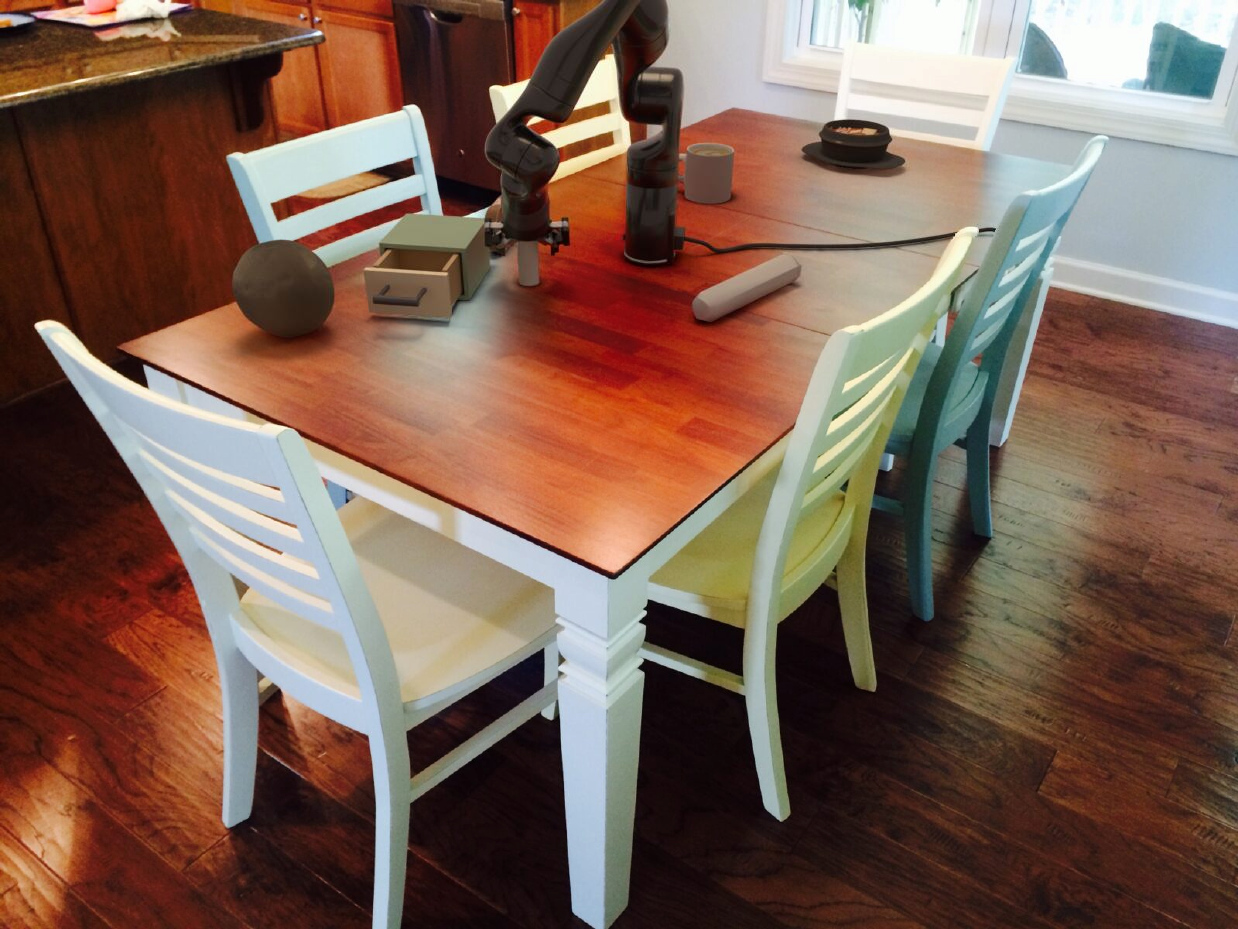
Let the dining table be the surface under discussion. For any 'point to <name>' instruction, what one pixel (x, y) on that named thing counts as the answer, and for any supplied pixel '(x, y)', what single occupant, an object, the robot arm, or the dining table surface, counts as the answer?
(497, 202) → the tin
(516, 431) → the dining table surface
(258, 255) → the dark brown ball
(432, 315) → the drawer
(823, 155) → the casserole
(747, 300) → the tube
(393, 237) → the cabinet
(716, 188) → the coffee mug
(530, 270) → the salt shaker
